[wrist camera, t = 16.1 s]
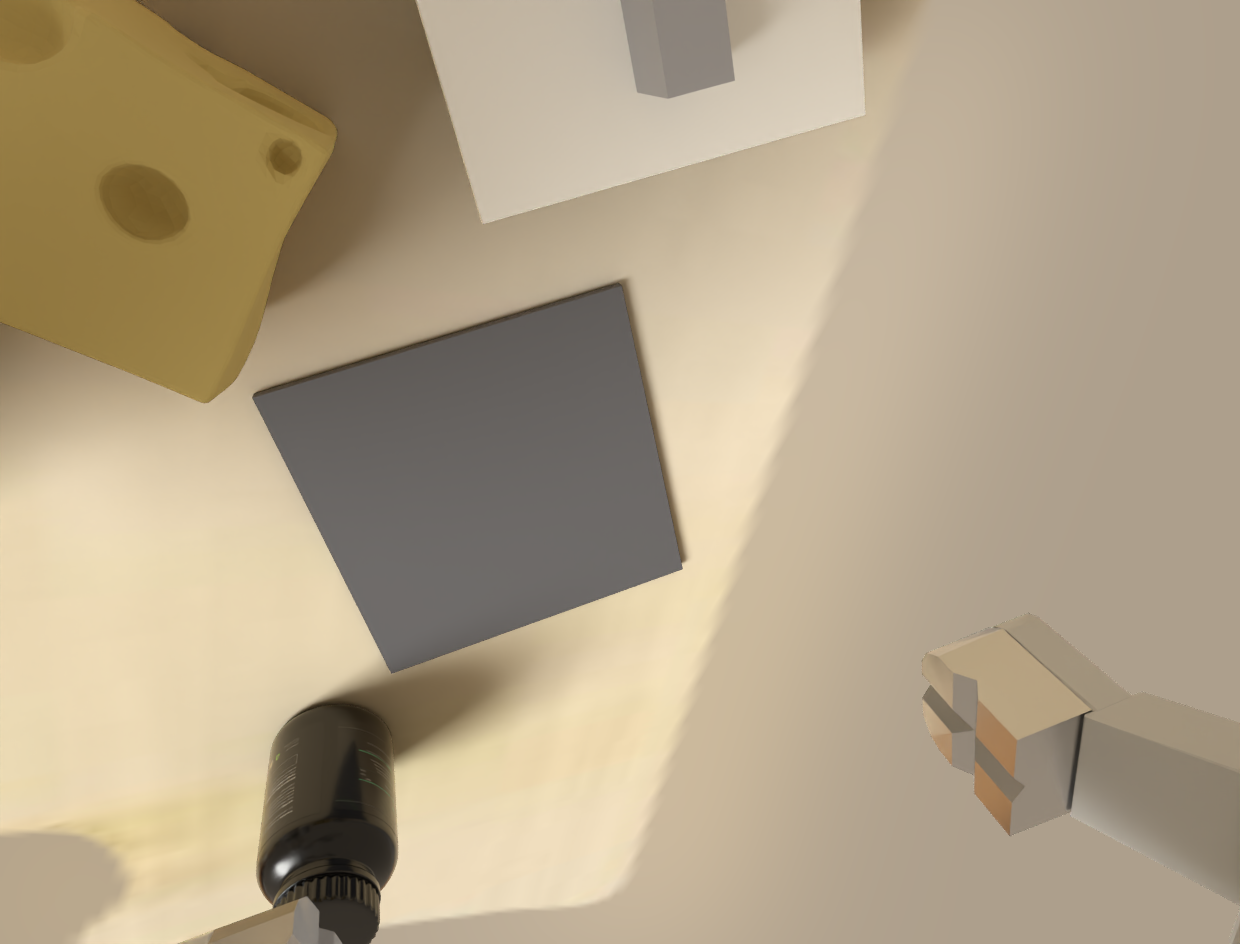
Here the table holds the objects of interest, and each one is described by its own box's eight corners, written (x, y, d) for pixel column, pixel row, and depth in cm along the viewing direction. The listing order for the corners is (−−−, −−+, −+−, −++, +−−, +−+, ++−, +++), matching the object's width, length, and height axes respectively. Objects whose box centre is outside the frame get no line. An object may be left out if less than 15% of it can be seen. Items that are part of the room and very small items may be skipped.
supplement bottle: (294, 799, 49) (278, 998, 39) (252, 722, 46) (222, 918, 35) (406, 763, 50) (418, 947, 40) (373, 685, 47) (377, 864, 37)
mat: (391, 667, 46) (391, 673, 46) (253, 394, 37) (252, 398, 37) (679, 564, 49) (682, 569, 48) (618, 283, 40) (621, 285, 39)
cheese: (64, -53, 28) (-60, -91, 20) (355, 125, 33) (354, 154, 25) (-31, 209, 31) (-177, 273, 23) (250, 337, 36) (218, 428, 28)
